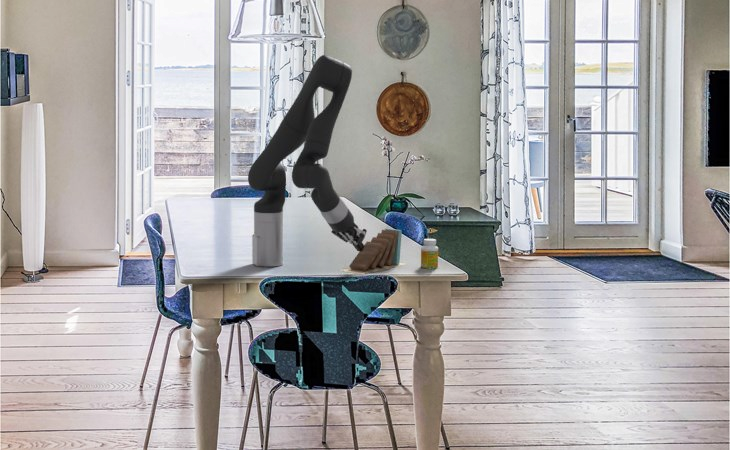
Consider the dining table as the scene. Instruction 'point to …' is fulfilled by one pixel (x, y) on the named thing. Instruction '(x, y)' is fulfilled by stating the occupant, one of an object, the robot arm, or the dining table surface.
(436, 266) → the supplement bottle
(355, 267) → the domino
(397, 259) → the domino
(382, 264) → the domino
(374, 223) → the dining table surface
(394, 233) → the domino
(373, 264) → the domino
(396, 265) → the domino board
